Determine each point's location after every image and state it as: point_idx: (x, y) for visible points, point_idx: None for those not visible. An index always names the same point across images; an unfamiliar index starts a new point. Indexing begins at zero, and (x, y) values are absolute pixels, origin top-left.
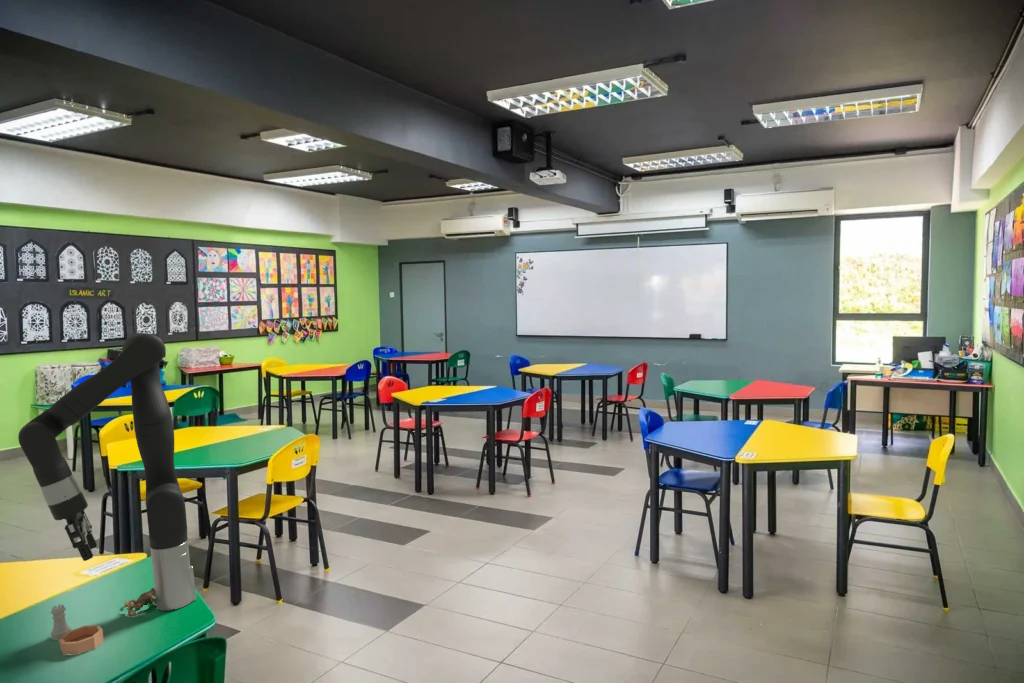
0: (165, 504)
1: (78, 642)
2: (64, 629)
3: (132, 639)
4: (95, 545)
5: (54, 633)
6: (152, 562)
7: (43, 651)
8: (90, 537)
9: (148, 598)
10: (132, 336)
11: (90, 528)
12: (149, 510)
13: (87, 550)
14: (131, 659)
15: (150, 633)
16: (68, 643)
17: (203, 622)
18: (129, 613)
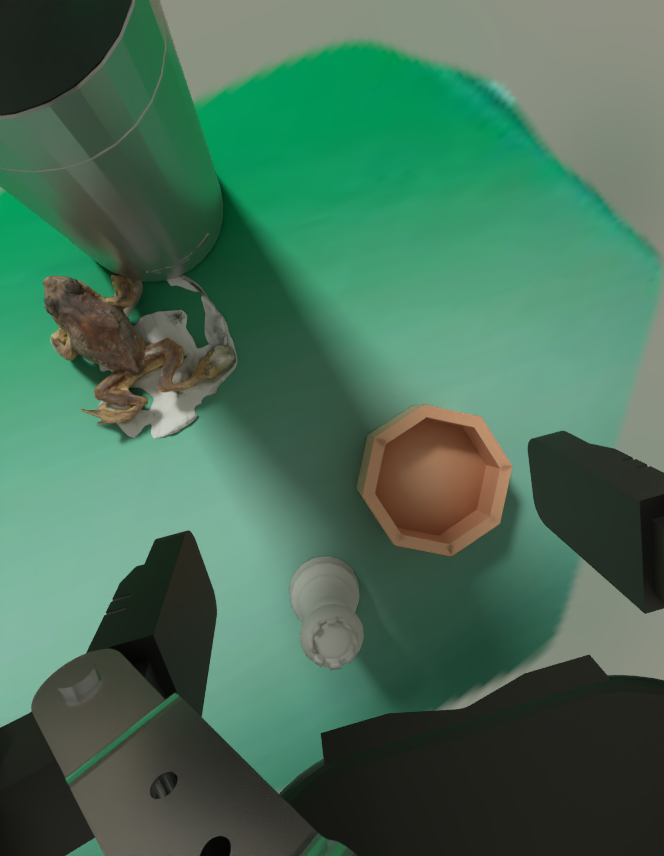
0: None
1: (509, 462)
2: (342, 579)
3: (432, 297)
4: (187, 543)
5: (354, 609)
6: (111, 169)
7: (423, 605)
8: (171, 629)
9: (123, 314)
10: None
11: (46, 715)
12: None
13: (659, 471)
14: (582, 255)
15: (405, 241)
16: (504, 499)
17: (377, 47)
18: (218, 372)
